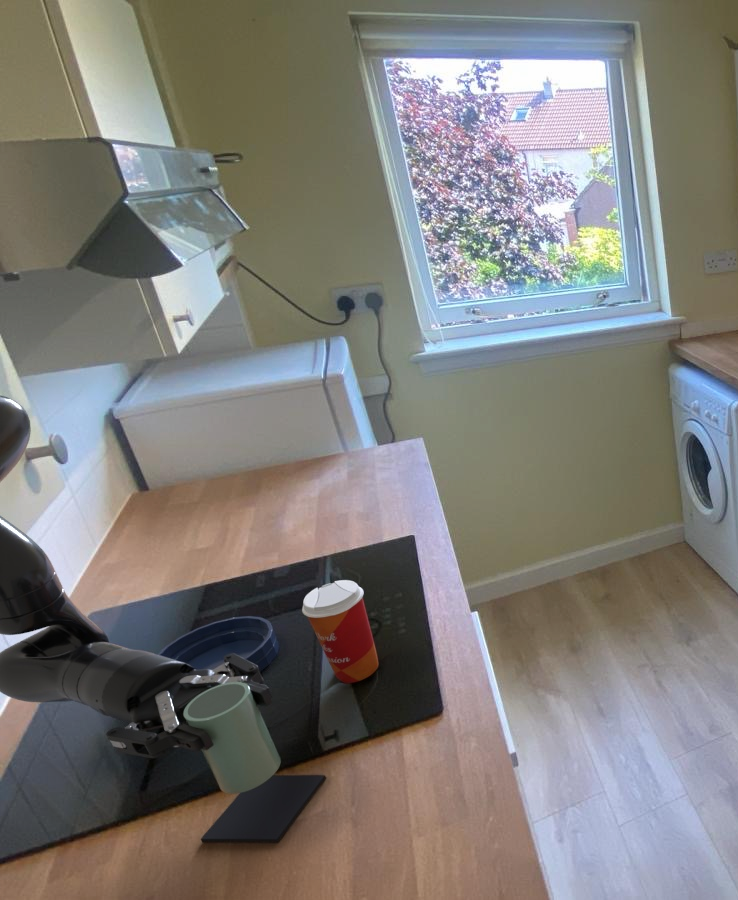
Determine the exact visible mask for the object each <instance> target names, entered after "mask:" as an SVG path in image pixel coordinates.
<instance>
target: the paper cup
mask: <svg viewBox="0 0 738 900" xmlns="http://www.w3.org/2000/svg"><path fill="white" fill-rule="evenodd" d="M364 595H365V594H364V589H363V588H362V587H360V586H359V585H358V583H357V582H355V581H353V580H349V579H342V580H341V579H340V580H339V579H338V580H335V581H334V582H332V583H331V582H329V583H326V584H323V585H321V587H319V588H318V586H317V587H315V588H314V589H312V590H311V591H310V592H308V593H307V594H306V595H305V597H304V599H303V603H302V608H301V612H302V614H303V615H304V616H306V617H307V619H308V621H309V623H310V625H311V628H312V629H313V631H314V633H315V635H316V638H317V640H318V642H319V645H320V647H321V649H322V650H323V654H325V657H326V659H327V661H328V663H329V665H330V667H331V669H332V671H333V673H334V675H335V677H336V678H337V679H338V680H339V682H340V683H343V684H353V683H357V682H360V681H363V680H365V679H367V678H368V677H370V676H372V675H373V674H374V673H375V672H376V671H377V669H379V658H378V657H379V656H378V653H377V649H376V645H375V641H374V637H373V633H372V629H371V625H370V621H369V617H368V613H367V609H366V605H365V602H364Z"/></svg>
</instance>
